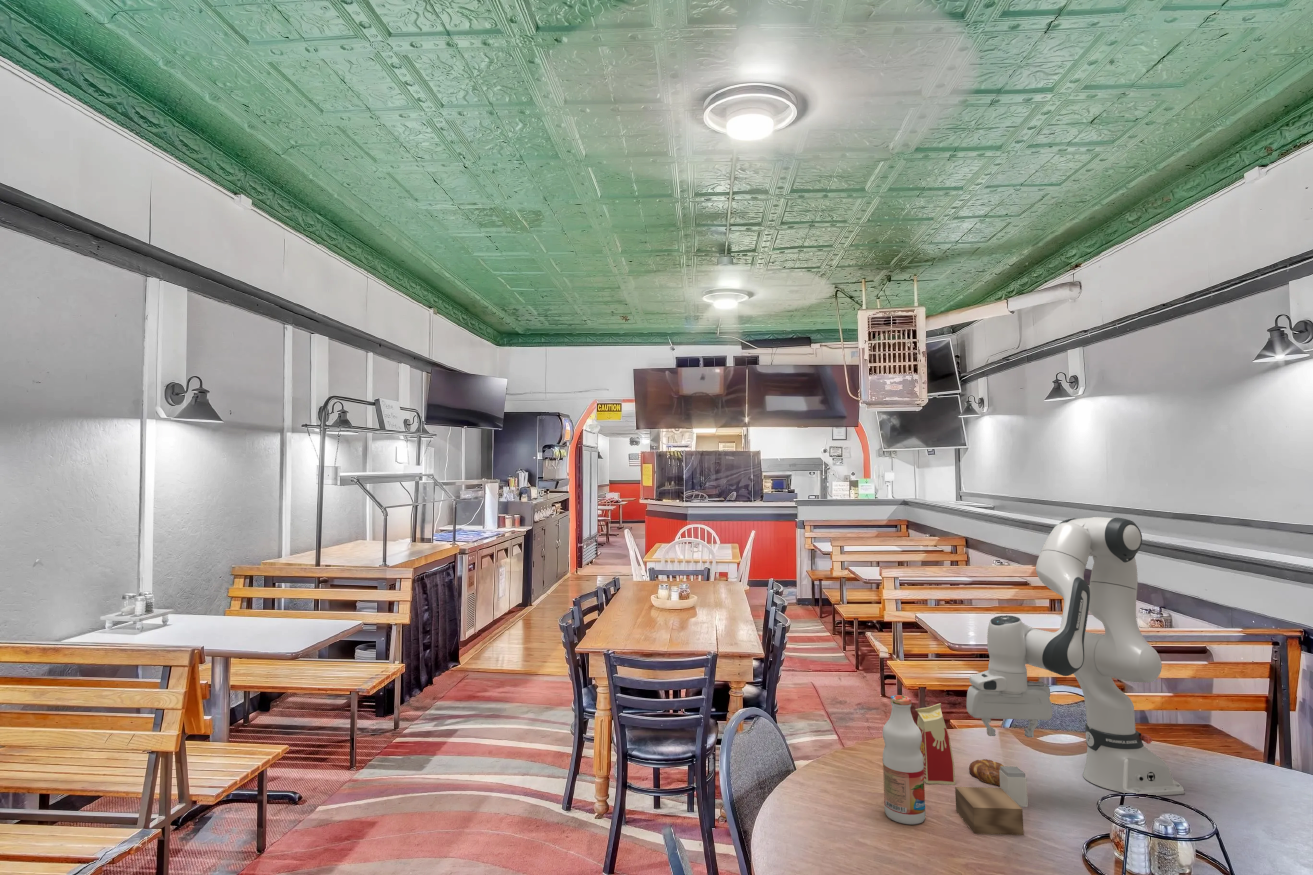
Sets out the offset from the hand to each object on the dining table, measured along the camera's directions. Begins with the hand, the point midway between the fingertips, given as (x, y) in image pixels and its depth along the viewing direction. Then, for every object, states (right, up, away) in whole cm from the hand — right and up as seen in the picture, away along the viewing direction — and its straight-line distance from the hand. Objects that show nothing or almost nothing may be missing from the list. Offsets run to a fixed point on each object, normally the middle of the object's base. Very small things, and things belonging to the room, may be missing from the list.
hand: (1010, 736), depth 168 cm
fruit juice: (-30, -16, -9) cm, 35 cm away
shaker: (0, -16, -1) cm, 16 cm away
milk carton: (-14, -18, +13) cm, 26 cm away
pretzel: (+2, -18, +13) cm, 23 cm away
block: (-11, -16, -12) cm, 23 cm away
